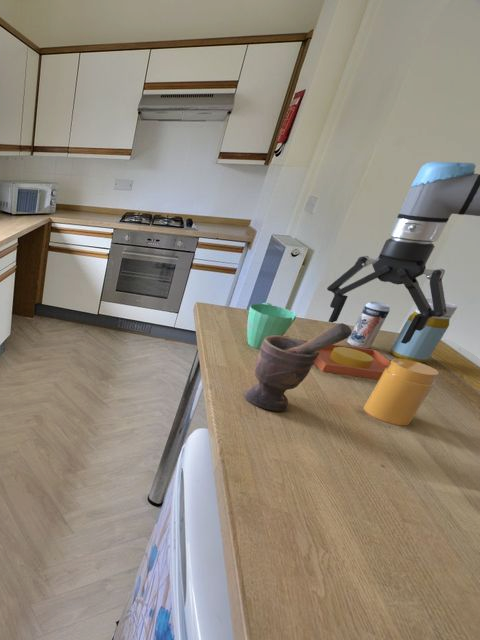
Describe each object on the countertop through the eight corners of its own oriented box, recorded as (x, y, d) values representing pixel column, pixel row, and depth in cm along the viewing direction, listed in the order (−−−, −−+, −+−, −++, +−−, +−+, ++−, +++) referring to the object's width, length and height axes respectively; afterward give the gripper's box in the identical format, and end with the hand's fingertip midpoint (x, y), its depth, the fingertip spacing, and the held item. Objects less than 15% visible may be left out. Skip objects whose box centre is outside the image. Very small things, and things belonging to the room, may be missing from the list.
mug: (284, 357, 102) (300, 321, 97) (239, 348, 106) (252, 312, 101) (274, 336, 114) (288, 303, 109) (234, 329, 118) (246, 296, 113)
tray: (371, 356, 105) (375, 349, 104) (409, 384, 93) (414, 376, 92) (295, 346, 109) (298, 339, 108) (322, 371, 96) (325, 364, 95)
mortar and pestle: (315, 412, 80) (362, 318, 72) (302, 428, 75) (352, 330, 66) (250, 386, 88) (285, 299, 79) (234, 400, 83) (271, 308, 74)
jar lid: (323, 358, 102) (327, 350, 101) (337, 352, 105) (341, 344, 104) (361, 372, 96) (366, 363, 95) (374, 365, 99) (378, 357, 98)
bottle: (389, 357, 105) (419, 302, 99) (389, 348, 110) (418, 296, 103) (427, 366, 101) (461, 310, 95) (425, 357, 106) (458, 303, 99)
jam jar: (395, 408, 83) (423, 361, 78) (418, 428, 77) (451, 378, 72) (356, 402, 84) (381, 355, 80) (376, 421, 78) (405, 371, 74)
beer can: (341, 341, 113) (362, 300, 108) (357, 341, 113) (377, 301, 108) (358, 349, 108) (380, 307, 103) (374, 349, 109) (396, 307, 104)
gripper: (333, 231, 95) (299, 315, 104) (493, 254, 76) (434, 355, 85) (347, 229, 99) (313, 311, 108) (504, 251, 80) (446, 348, 88)
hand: (366, 331), depth 96 cm, fingers open, 13 cm apart
